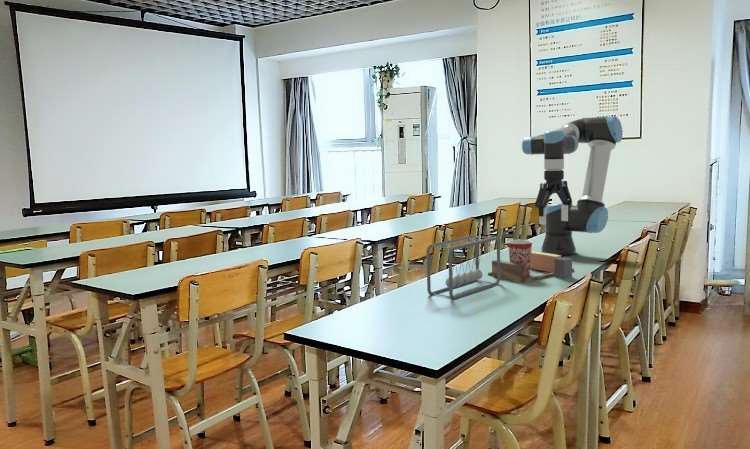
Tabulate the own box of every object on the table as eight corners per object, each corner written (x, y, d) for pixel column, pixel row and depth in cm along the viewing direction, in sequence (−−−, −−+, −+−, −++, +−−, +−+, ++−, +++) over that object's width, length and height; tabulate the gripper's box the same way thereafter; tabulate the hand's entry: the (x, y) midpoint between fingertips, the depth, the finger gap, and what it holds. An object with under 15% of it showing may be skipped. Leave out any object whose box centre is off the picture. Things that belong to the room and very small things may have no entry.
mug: (525, 279, 223) (525, 244, 221) (503, 276, 229) (503, 242, 228) (540, 273, 232) (541, 239, 231) (520, 270, 238) (520, 237, 237)
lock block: (562, 275, 229) (562, 257, 228) (571, 277, 225) (572, 258, 224) (554, 276, 226) (554, 258, 225) (564, 278, 222) (564, 260, 221)
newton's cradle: (451, 301, 196) (450, 248, 194) (426, 296, 204) (425, 245, 201) (500, 284, 218) (500, 236, 215) (477, 280, 225) (476, 234, 223)
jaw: (532, 266, 245) (532, 250, 244) (561, 272, 233) (561, 255, 232) (526, 267, 243) (526, 252, 242) (555, 273, 231) (555, 256, 230)
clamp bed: (537, 264, 249) (537, 250, 249) (573, 271, 234) (573, 256, 234) (488, 275, 233) (487, 260, 232) (524, 282, 218) (524, 266, 217)
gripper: (566, 168, 247) (565, 218, 250) (525, 171, 233) (525, 225, 236) (581, 168, 241) (581, 220, 243) (540, 171, 227) (540, 226, 229)
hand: (553, 222), depth 239 cm, fingers open, 13 cm apart
